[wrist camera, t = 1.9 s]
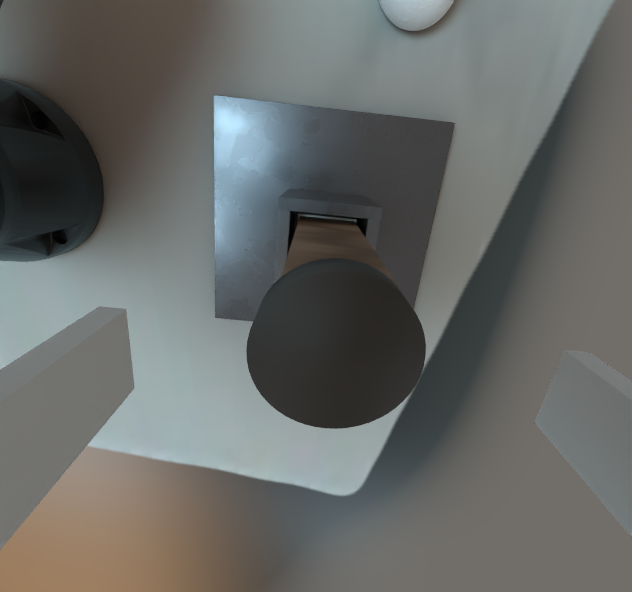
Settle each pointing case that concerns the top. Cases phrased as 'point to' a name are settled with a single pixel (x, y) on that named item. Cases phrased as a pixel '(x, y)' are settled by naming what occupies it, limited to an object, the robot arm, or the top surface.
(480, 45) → the top surface
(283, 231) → the sleeve stand
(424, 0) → the garlic bulb
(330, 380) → the post
